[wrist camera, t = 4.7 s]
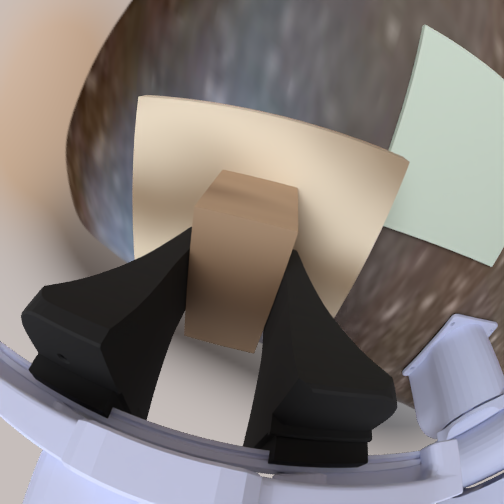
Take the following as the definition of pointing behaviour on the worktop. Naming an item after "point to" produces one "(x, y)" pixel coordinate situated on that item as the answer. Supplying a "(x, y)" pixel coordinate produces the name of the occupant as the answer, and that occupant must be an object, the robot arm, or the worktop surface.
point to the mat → (451, 152)
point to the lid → (255, 207)
